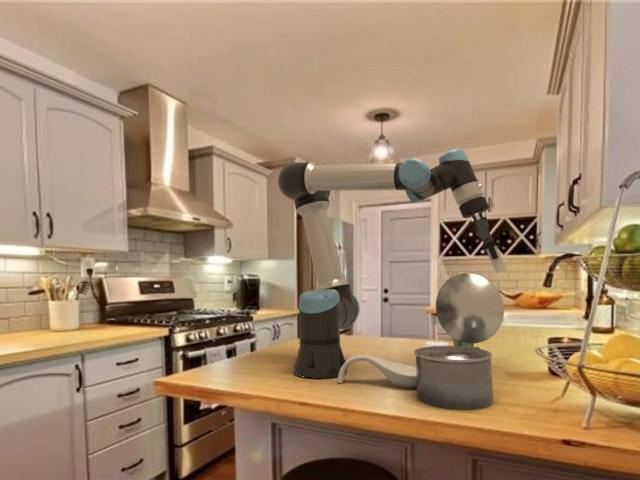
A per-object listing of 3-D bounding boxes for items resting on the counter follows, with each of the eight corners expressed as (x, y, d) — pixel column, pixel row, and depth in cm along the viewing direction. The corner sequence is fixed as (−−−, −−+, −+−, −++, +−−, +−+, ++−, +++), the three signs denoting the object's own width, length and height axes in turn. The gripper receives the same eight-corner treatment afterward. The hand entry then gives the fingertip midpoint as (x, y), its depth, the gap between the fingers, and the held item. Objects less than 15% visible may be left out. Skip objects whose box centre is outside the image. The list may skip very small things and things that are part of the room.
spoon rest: (431, 380, 107) (430, 352, 108) (434, 392, 96) (433, 361, 97) (341, 377, 112) (341, 351, 113) (335, 389, 100) (334, 359, 101)
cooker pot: (442, 383, 103) (440, 342, 104) (509, 395, 92) (506, 350, 93) (401, 399, 91) (400, 353, 92) (473, 415, 79) (470, 363, 80)
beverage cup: (429, 373, 114) (427, 322, 115) (452, 376, 110) (450, 323, 112) (423, 378, 108) (421, 325, 109) (447, 381, 105) (444, 326, 106)
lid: (436, 340, 103) (441, 339, 105) (503, 347, 91) (508, 346, 93) (434, 274, 105) (440, 274, 107) (500, 272, 93) (505, 273, 95)
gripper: (481, 187, 104) (516, 265, 99) (486, 202, 126) (514, 267, 122) (452, 199, 106) (485, 276, 102) (462, 212, 129) (489, 275, 124)
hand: (501, 271), depth 112 cm, fingers open, 13 cm apart
